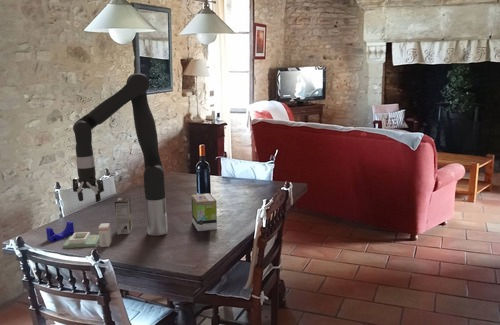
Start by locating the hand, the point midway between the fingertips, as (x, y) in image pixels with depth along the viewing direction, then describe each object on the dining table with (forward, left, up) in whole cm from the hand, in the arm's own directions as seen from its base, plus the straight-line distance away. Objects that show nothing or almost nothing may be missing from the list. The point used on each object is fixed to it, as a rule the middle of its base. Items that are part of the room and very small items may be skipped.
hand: (89, 201), depth 218 cm
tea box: (-51, -15, -20) cm, 57 cm away
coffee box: (-12, -13, -20) cm, 27 cm away
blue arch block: (+16, -9, -20) cm, 27 cm away
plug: (-6, +4, -19) cm, 21 cm away
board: (+5, 0, -19) cm, 20 cm away
